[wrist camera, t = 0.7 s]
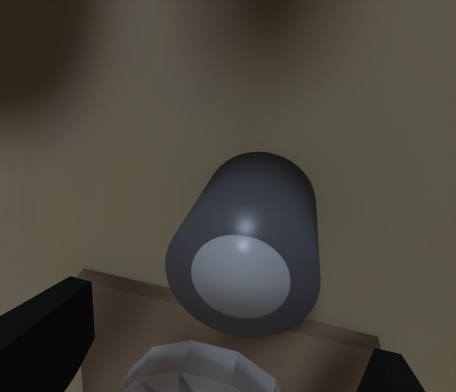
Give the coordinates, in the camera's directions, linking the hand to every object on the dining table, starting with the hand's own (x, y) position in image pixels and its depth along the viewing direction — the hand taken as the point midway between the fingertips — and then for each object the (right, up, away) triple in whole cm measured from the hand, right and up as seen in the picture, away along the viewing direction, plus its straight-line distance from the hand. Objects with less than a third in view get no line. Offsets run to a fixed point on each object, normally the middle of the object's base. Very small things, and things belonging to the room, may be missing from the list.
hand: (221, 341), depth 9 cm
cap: (+2, +3, +7) cm, 8 cm away
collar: (-1, -8, +13) cm, 15 cm away
